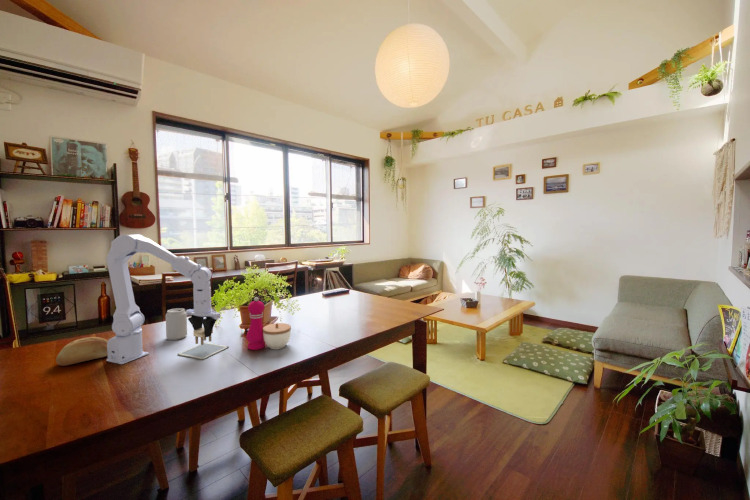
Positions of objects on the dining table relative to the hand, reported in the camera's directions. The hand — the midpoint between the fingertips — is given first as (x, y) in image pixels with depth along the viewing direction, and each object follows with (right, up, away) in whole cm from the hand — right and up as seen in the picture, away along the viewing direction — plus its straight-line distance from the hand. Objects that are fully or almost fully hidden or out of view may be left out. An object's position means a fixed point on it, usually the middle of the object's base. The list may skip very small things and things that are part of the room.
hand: (203, 335), depth 119 cm
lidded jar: (+26, -6, +7) cm, 27 cm away
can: (-19, -5, +14) cm, 24 cm away
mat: (0, -6, 0) cm, 6 cm away
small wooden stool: (0, -3, 0) cm, 3 cm away
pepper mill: (+18, -6, +6) cm, 20 cm away
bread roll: (-36, -7, -9) cm, 38 cm away
